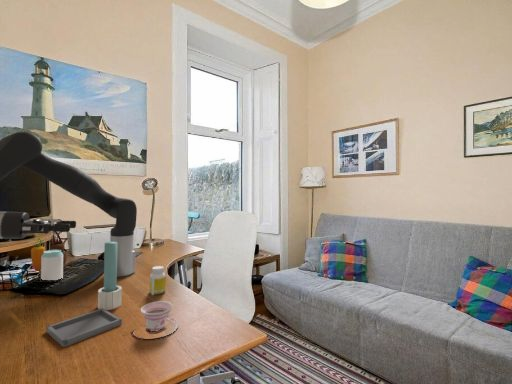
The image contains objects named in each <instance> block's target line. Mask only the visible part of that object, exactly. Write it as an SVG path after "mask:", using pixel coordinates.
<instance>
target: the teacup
mask: <svg viewBox="0 0 512 384" xmlns="http://www.w3.org/2000/svg"><path fill="white" fill-rule="evenodd" d="M172 307H173V304H172V302H170V301H167V300H157V301H152V302H149V303H146V304H145V305H143V306H141V308H140V312H141V313H142V315H144V318H145V325H146V327H147V330H149V331H150V330H152V331H156V330H160V329H162V330H163V328H165V325H166V323H167V322H166V319H168V320H171V321H172V322H174V323H175V324H176V327H175V329H174V330H173V331H172V332H171V333H172V334H174V333H175V332H177V330H178V329H179V322H178V321H177V319H175V318H172V317H170V316H169V314H170V313H171V309H172ZM177 328H178V329H177ZM176 329H177V330H176ZM134 330H135V329H134ZM134 330H132V331H133V333H132V335H133V334H134ZM152 331H151V332H152ZM160 331H161V330H160ZM174 331H175V332H174ZM173 332H174V333H173ZM171 333H169V334H171ZM169 334H167V335H169ZM172 334H171V335H172ZM134 335H135V334H134ZM134 335H133V336H134ZM169 336H170V335H169ZM137 337H139V336H137ZM161 337H163V336H161ZM140 338H142V337H140ZM157 338H158V337H157Z"/></svg>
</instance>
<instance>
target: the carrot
mask: <svg viewBox="0 0 512 384" xmlns="http://www.w3.org/2000/svg"><path fill="white" fill-rule="evenodd" d="M39 240H40V243H39V244H36V245H35V246H34V247H32V248H31V250H30V257H31V264H32V267H33V269H34V270H35V272H36V271H40V272H41V256H42V255H43V254H44V251H47V250H46V247H45V246H42V245H41V244H42V243H43V239H42V238H41V237H38V239H37V240H36V239H35V241H37V242H38V241H39Z"/></svg>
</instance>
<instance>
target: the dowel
mask: <svg viewBox="0 0 512 384" xmlns="http://www.w3.org/2000/svg"><path fill="white" fill-rule="evenodd" d="M103 248H104V253H103V255H104V257H103V259H104V260H103V261H104V263H103V287H104V292H112V291H116V289H117V286H118V285H117V284H118V283H117V281H118V280H117V278H118V277H117V242H110V241H107V242H104V247H103Z"/></svg>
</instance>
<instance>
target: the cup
mask: <svg viewBox="0 0 512 384" xmlns="http://www.w3.org/2000/svg"><path fill="white" fill-rule="evenodd" d="M122 290H123V288H122V286H121V285H117V289H116V291H112V292H104V286H103V287H101V288H99V289H98V290H97V310H99V309H102V308H103V309H105V310H106V311H110V310H114V309H117V308H119V307H120V306H122V302H123V301H122V300H123V299H122V296H123V295H122V292H123V291H122Z"/></svg>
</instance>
